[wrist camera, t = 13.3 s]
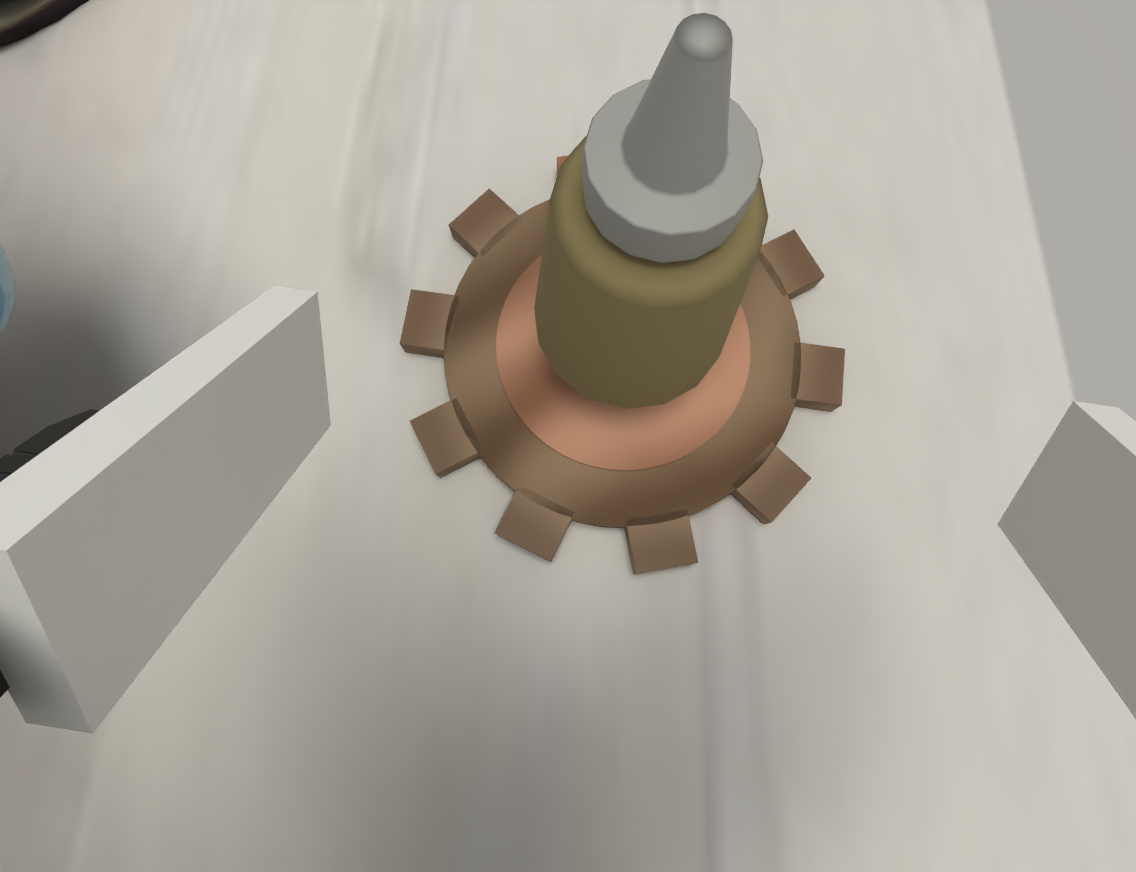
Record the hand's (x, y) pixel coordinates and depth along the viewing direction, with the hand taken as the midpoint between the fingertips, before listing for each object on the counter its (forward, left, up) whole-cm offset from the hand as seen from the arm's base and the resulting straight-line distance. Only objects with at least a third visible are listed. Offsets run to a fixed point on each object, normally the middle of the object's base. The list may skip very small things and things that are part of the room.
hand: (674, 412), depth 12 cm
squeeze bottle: (-5, +6, -18) cm, 20 cm away
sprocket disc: (-5, +6, -19) cm, 21 cm away
